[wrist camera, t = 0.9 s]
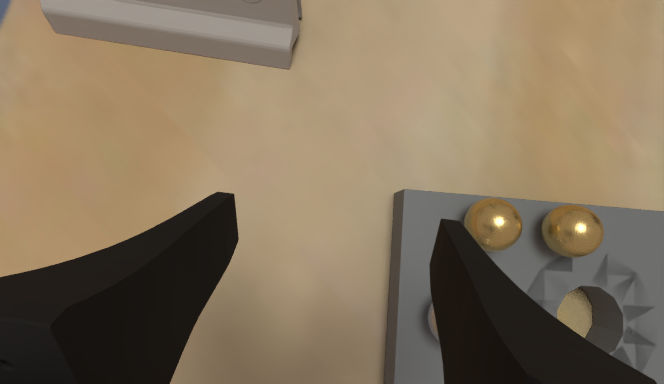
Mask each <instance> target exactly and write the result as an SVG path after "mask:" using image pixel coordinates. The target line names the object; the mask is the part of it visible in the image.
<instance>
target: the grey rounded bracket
mask: <svg viewBox="0 0 664 384" xmlns="http://www.w3.org/2000/svg"><path fill="white" fill-rule="evenodd" d="M41 9H42V12H43V14H44V15H45V17H46V19H47V20H48V22H49V23H50V25H51V26H52V28H53V29H54V31H55V32H56V33H59V34H65V35H72V36H78V37H85V38H91V39H97V40H104V41H110V42H117V43H123V44H129V45H136V46H142V47H149V48H155V49H161V50H168V51H174V52H181V53H187V54H194V55H200V56H206V57H213V58H219V59H226V60H232V61H238V62H245V63H251V64H258V65H264V66H270V67H277V68H283V69H290V66H291V63H292V47H293V45H294V43H295V41H296V38H297V36H298V34H299V32H300V26H299V17H300V18H302V9H301V0H41Z"/></svg>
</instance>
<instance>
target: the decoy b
mask: <svg viewBox="0 0 664 384" xmlns="http://www.w3.org/2000/svg"><path fill="white" fill-rule="evenodd" d="M541 233H542V237H543V240H544V242H545V243H546V245H547V246H548V247H549V248H550V249H551V250H552V251H554V252H555V253H557V254H559V255H562V256H565V257H570V258H579V257H584V256H587V255H589V254H591V253H593V252H594V251H596V250H597V249H598V248H599V246H600V245H601V243H602V241H603V238H604V228H603V224H602V222H601V220H600V219H599V217H598V216H597V215H596V214H595V213H594V212H592V211H591V210H589V209H587V208H585V207H583V206H579V205H563V206H559V207H557V208H555V209H553V210H552V211H550V212H549V213H548V214H547V215H546V217H545V218H544V220H543V222H542V226H541Z"/></svg>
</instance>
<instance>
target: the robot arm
mask: <svg viewBox="0 0 664 384" xmlns="http://www.w3.org/2000/svg"><path fill="white" fill-rule="evenodd" d="M238 240H239V239H238V228H237V218H236V208H235V198H234V194H231V193H223V192H216V193H214V194H212V195H210V196H209V197H207V198H205V199H203V200H202V201H200V202H198V203H196V204H195V205H193V206H191V207H190V208H188V209H186V210H184V211H183V212H181V213H179V214H177V215H176V216H174V217H172V218H170V219H168V220H166V221H164V222H163V223H161V224H159V225H157V226H155V227H153V228H151V229H149V230H147V231H145V232H143V233H141V234H139V235H137V236H134V237H132V238H130V239H128V240H125V241H123V242H120V243H118V244H116V245H113V246H110V247H108V248H105V249H102V250H99V251H96V252H93V253H91V254H88V255H85V256H82V257H79V258H76V259H73V260H69V261H66V262H62V263H59V264H55V265H51V266H48V267H44V268H40V269H36V270H32V271H28V272H23V273H18V274H13V275H9V276H4V277H0V384H170V382H171V379H172V376H173V374H174V372H175V369H176V367H177V364H178V362H179V359H180V357H181V355H182V352H183V350H184V348H185V345H186V343H187V341H188V339H189V336H190V334H191V332H192V330H193V327H194V325H195V323H196V321H197V319H198V317H199V315H200V314H201V312H202V310H203V308H204V307H205V305H206V303H207V301H208V300H209V298H210V296H211V295H212V293H213V291H214V289H215V288H216V286H217V284H218V282H219V281H220V279H221V277H222V275H223V274H224V272H225V270H226V268H227V266H228V265H229V263H230V260H231V258H232V256H233V253H234V251H235V248H236V245H237V243H238ZM429 267H430V291H431V297H432V303H433V308H434V314H435V320H436V325H437V331H438V336H439V342H440V348H441V354H442V362H443V374H444V384H657V383H656V381H655V380H654V379H652V378H650V377H648V376H647V375H645V374H643V373H641V372H640V371H638V370H636V369H634V368H632V367H631V366H629V365H627V364H625V363H624V362H622V361H620V360H618V359H617V358H615V357H613V356H611V355H610V354H608V353H606V352H605V351H603V350H602V349H600V348H599V347H597V346H596V345H594V344H592V343H591V342H589V341H588V340H586V339H585V338H583V337H582V336H580V335H579V334H577V333H576V332H574V331H573V330H571V329H570V328H569V327H567V326H566V325H565V324H563V323H562V322H561V321H559V320H558V319H557V318H555V317H554V316H553V315H551V314H550V313H549V312H547V311H546V310H545V309H544V308H542V307H541V306H540V305H539V304H537V303H536V302H535V301H534V300H533V299H532V298H530V297H529V296H528V295H527V294H526V293H525V292H524V291H522V290H521V289H520V288H519V287H518V286H517V285H516V284H515V283H514V282H513V281H512V280H511V279H510V278H509V277H508V276H507V275H506V274H505V273H504V272H503V271H502V270H501V269H500V268H499V267H498V266H497V265H496V264H495V263H494V261H493V260H492V259H491V258H490V257H489V256H488V255H487V254H486V252H485V251H484V250H483V249H482V248H481V246H480V245H479V244H478V243H477V242H476V240H475V239H474V238H473V237H472V235H471V234H470V233H469V232H468V230H467V229H466V228H465V227H464V226H463V224H462V223H461V222H460V221H458V220H450V219H441V220H440V224H439V228H438V232H437V236H436V240H435V244H434V248H433V252H432V256H431V260H430V264H429Z"/></svg>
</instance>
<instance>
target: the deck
mask: <svg viewBox="0 0 664 384" xmlns="http://www.w3.org/2000/svg"><path fill="white" fill-rule="evenodd" d="M486 198H498V199H502V200H505V201H507V202H509V203H510V204H512V205H513V206H514V207H515V208H516V209H517V211H518V212H519V214H520V216H521V219H522V233H521V235H520V237H519V239H518V240H517V242H516V243H515V244H514V245H513V246H511V247H510V248H508V249H506V250H503V251H499V252H490V251H485V250H484V251H485V252H486V254H487V255H488V256H489V257H490V258H491V259H492V260H493V261H494V263H495V264H496V265H497V266H498V267H499V268H500V269H501V270H502V271H503V272H504V273H505V274H506V275H507V276H508V277H509V278H510V279H511V280H512V281H513V282H514V283H515V284H516V285H517V286H518V287H519V288H520V289H521V290H522V291H524V292H525V293H526V294H527V295H528V296H529V297H530V298H532V299H533V300H534V301H535V302H536V303H537V304H539V305H540V306H541V307H542V308H544V309H545V310H546V311H547V312H549V313H550V314H551V315H553V316H554V317H555V318H557V309H558V307H559V306H560V304H561V302H562V300H563V298H564V297H565V295H566V294H567V293H569V292H571V291H572V290H574V289H576V288H578V287H579V288H581V289H582V290H584V291H585V293H586V295H587V297H588V299H589V301H590V302H591V304H592V306H593V325H592V327H591V329H590V331H589V332H588V334H587V336H586V338H585V339H586V340H588V341H589V342H591V343H592V344H594V345H596V346H597V347H599V348H600V349H602V350H603V351H605V352H606V353H608V354H610V355H611V356H613V357H615V358H617V359H618V360H620V361H622V362H624V363H625V364H627V365H629V366H631V367H632V368H634V369H636V370H638V371H640V372H641V373H643V374H645V375H647V376H648V377H650V378H652V379H654V380H655V381H656V383H657V384H664V211H653V210H641V209H629V208H618V207H606V206H594V205H583V204H571V203H560V202H548V201H536V200H525V199H513V198H501V197H490V196H478V195H466V194H455V193H443V192H432V191H420V190H408V189H404V190H401V191H399V192H396V193H394V210H393V228H392V246H391V264H390V282H389V300H388V318H387V336H386V354H385V372H384V384H444V374H443V362H442V354H441V348H440V342H439V341H438V340H437V339H436V338H435V337H434V335H433V334H432V332H431V330H430V327H429V324H428V311H429V307H430V305H431V303H432V297H431V291H430V267H429V264H430V260H431V256H432V252H433V248H434V244H435V240H436V236H437V232H438V228H439V224H440V220H441V219H450V220H458V221H460V222H461V223H462V224H463V226H464V218H465V215H466V213H467V211H468V210H469V208H470V207H471V206H472V205H473V204H474V203H476V202H478V201H480V200H482V199H486ZM563 205H579V206H583V207H585V208H587V209H589V210H591V211H592V212H594V213H595V214H596V215H597V216H598V217H599V219H600V220H601V222H602V224H603V228H604V238H603V241H602V243H601V245H600V246H599V248H598V249H597V250H596V251H594V252H593V253H591V254H589V255H587V256H584V257H579V258H570V257H565V256H562V255H559V254H557V253H555V252H554V251H552V250H551V249H550V248H549V247H548V246H547V245H546V243H545V242H544V240H543V237H542V233H541V226H542V222H543V220H544V218H545V217H546V215H547V214H548V213H549V212H550V211H552V210H553V209H555V208H557V207H559V206H563Z"/></svg>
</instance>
